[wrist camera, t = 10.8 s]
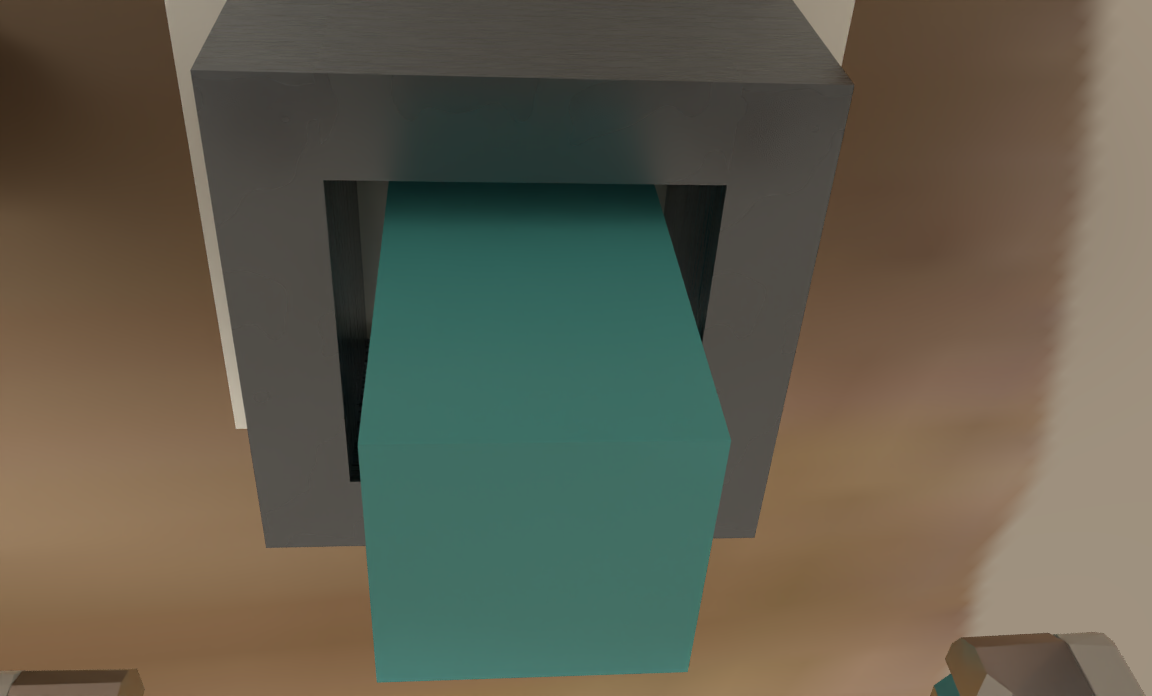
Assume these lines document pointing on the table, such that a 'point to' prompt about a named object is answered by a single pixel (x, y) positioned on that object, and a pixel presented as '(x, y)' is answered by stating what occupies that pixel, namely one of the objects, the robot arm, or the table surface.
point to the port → (510, 155)
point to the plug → (535, 436)
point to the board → (190, 22)
